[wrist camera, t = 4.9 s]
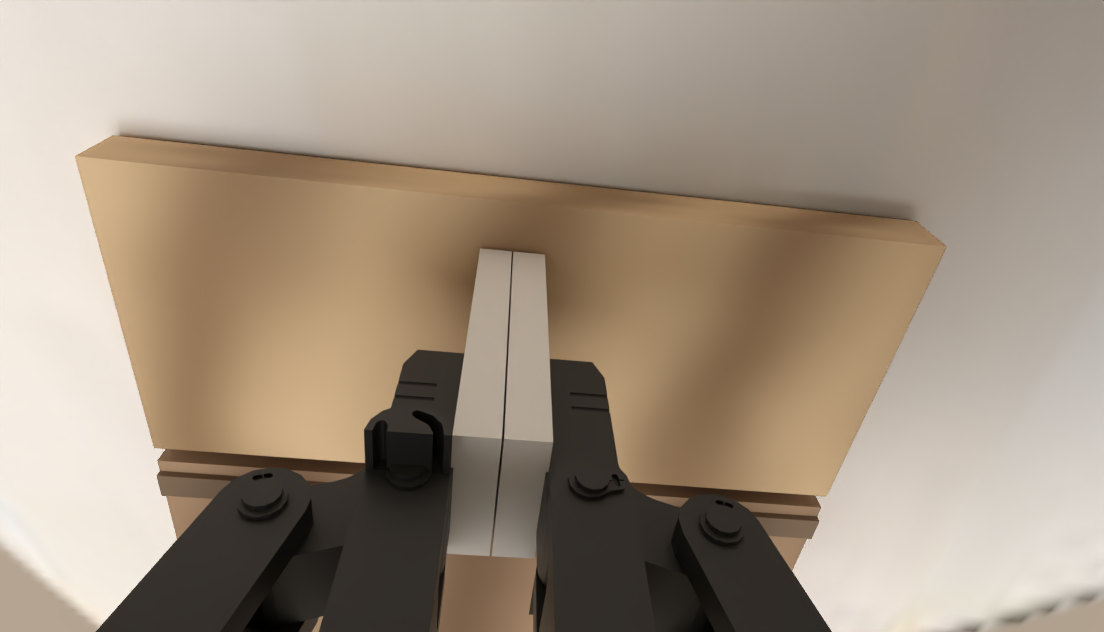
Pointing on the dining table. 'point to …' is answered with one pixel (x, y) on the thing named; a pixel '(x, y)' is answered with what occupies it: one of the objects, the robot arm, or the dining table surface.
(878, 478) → the dining table surface
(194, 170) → the oak plank
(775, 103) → the dining table surface
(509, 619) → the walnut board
